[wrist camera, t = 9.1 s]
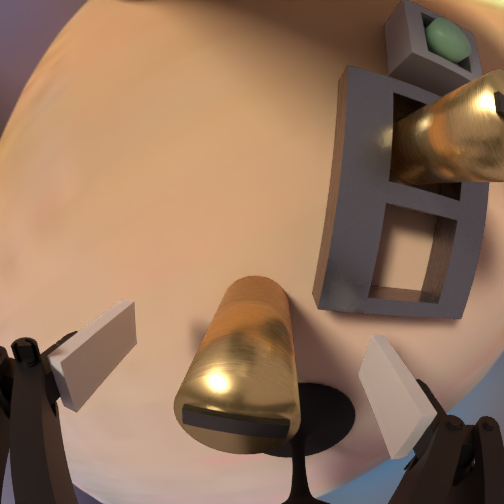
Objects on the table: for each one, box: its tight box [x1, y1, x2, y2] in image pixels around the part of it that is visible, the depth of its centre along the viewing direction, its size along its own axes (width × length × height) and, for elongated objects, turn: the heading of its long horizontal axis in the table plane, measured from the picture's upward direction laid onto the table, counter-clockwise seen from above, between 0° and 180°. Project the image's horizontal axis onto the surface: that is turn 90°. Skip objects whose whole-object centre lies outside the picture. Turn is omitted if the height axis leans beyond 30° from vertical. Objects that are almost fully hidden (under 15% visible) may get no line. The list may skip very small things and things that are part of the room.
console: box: [384, 0, 483, 97], centre depth 11 cm, size 6×5×4 cm
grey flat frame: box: [312, 65, 489, 319], centre depth 14 cm, size 11×14×2 cm
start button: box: [424, 18, 471, 64], centre depth 9 cm, size 3×3×2 cm
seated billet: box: [390, 69, 504, 184], centre depth 10 cm, size 4×4×10 cm
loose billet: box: [174, 276, 301, 454], centre depth 13 cm, size 4×4×10 cm
